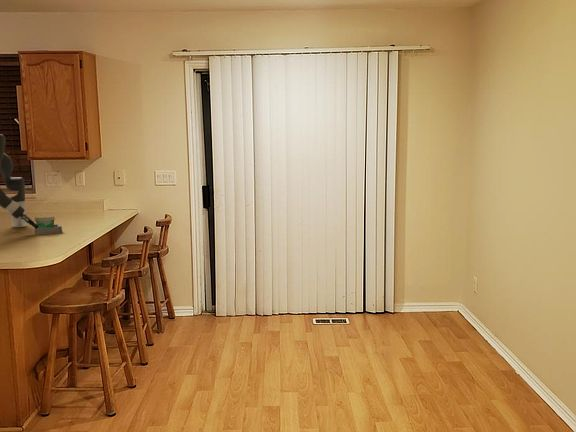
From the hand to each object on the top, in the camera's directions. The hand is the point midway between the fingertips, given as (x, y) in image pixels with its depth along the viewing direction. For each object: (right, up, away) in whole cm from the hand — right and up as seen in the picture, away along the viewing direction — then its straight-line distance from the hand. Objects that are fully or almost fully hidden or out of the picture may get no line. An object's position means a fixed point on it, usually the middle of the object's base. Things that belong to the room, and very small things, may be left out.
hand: (37, 227), depth 373 cm
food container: (+4, -4, +2) cm, 6 cm away
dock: (+5, -3, +3) cm, 7 cm away
